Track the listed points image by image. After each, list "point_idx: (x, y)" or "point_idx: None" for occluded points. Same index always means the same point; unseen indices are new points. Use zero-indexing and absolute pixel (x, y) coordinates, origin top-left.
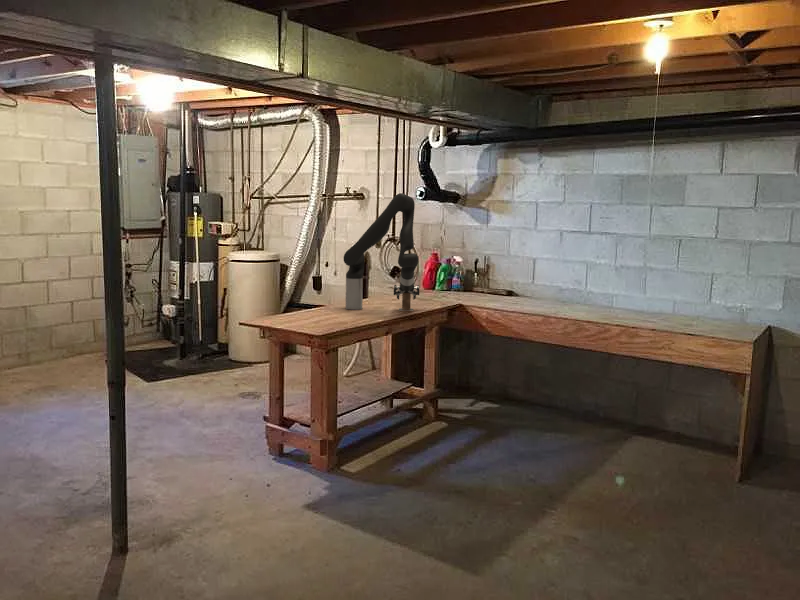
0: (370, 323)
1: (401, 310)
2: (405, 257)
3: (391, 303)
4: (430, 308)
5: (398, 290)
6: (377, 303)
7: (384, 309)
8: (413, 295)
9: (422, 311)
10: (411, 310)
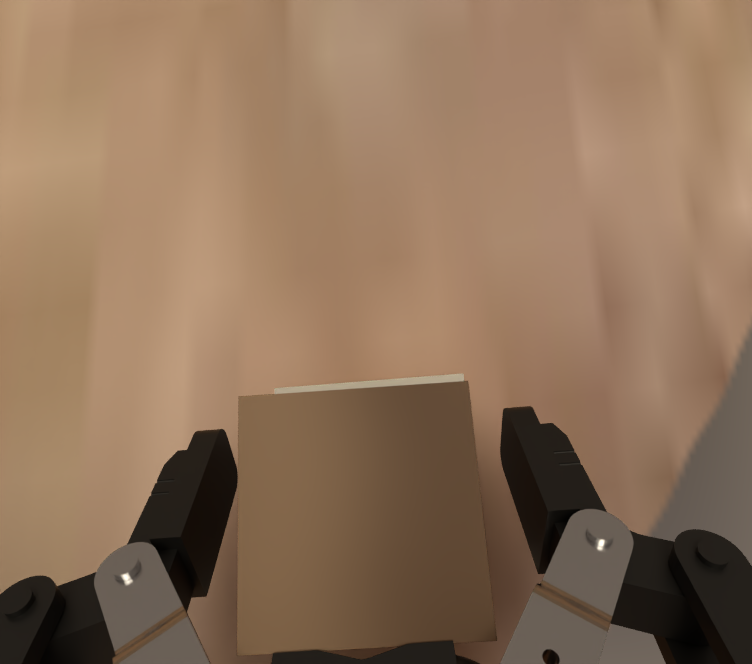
0: None
1: None
2: None
3: (195, 12)
4: (684, 297)
5: (116, 651)
6: (42, 35)
7: (88, 472)
8: (534, 536)
9: None
10: None
